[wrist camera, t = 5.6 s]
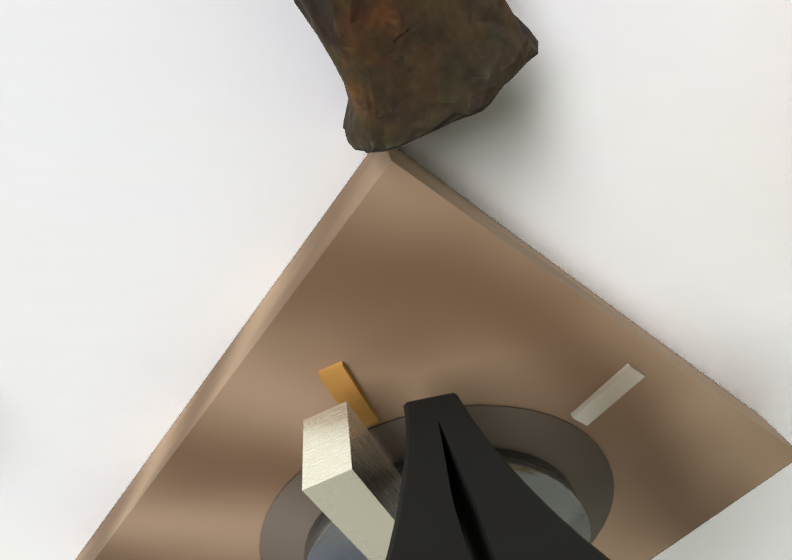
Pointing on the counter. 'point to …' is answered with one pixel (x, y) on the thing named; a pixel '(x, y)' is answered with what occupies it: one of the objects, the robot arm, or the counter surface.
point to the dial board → (438, 386)
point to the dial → (387, 488)
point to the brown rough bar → (417, 62)
